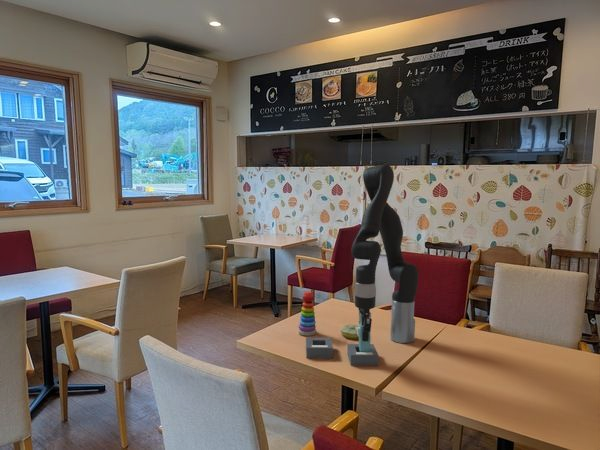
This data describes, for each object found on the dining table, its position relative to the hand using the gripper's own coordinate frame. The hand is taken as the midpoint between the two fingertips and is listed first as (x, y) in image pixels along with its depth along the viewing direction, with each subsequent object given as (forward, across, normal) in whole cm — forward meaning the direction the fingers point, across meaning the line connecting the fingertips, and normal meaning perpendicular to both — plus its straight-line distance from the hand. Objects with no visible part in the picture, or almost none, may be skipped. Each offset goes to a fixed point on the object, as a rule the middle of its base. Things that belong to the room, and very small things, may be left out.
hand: (364, 338), depth 152 cm
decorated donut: (+9, +24, 0) cm, 26 cm away
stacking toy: (+8, +26, +20) cm, 34 cm away
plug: (+5, 0, 0) cm, 5 cm away
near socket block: (+8, 0, +1) cm, 8 cm away
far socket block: (+8, +6, +16) cm, 19 cm away
